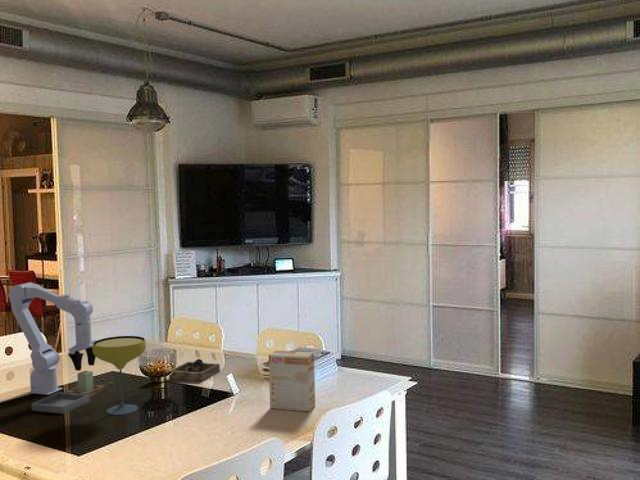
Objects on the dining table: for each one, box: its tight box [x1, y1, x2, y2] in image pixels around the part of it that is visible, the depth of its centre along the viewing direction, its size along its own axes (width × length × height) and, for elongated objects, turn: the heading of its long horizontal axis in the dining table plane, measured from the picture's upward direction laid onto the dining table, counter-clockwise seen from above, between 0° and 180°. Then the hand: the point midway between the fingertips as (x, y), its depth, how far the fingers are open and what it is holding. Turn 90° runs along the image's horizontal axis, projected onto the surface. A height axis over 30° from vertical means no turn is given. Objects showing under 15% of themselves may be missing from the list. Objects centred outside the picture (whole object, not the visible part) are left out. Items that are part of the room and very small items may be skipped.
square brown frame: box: [65, 384, 107, 398], centre depth 248 cm, size 10×10×2 cm
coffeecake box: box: [268, 350, 316, 413], centre depth 225 cm, size 15×7×20 cm, turn 71°
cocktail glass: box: [92, 335, 147, 416], centre depth 225 cm, size 18×18×25 cm
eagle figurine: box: [185, 358, 204, 373], centre depth 269 cm, size 8×7×9 cm
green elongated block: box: [77, 370, 94, 393], centre depth 248 cm, size 4×4×8 cm
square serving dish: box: [168, 361, 221, 383], centre depth 268 cm, size 15×15×4 cm
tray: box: [30, 391, 91, 415], centre depth 232 cm, size 14×14×2 cm
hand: (84, 367), depth 247 cm, fingers open, 7 cm apart
